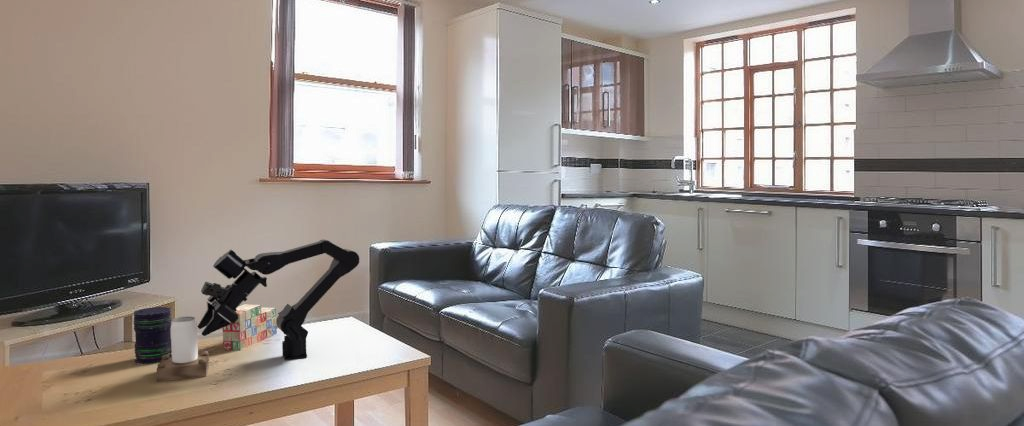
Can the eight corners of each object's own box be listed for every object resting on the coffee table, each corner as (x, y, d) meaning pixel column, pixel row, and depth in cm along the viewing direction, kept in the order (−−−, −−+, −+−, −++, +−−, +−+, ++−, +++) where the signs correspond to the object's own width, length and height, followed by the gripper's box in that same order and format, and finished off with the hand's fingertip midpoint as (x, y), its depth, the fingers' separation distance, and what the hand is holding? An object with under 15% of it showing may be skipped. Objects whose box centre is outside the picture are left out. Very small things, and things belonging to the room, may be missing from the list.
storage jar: (175, 353, 195) (173, 306, 194) (169, 362, 186) (167, 313, 185) (139, 356, 192) (137, 308, 191) (131, 365, 183) (129, 315, 182)
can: (185, 356, 180) (183, 315, 179) (203, 358, 178) (201, 317, 178) (166, 362, 174) (165, 320, 173) (185, 365, 172) (183, 322, 171)
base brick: (209, 365, 183) (208, 350, 183) (206, 376, 174) (205, 360, 173) (162, 370, 178) (162, 355, 178) (157, 381, 169) (156, 365, 169)
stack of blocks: (260, 332, 221) (259, 298, 220) (277, 333, 220) (276, 299, 219) (222, 349, 200) (221, 311, 199) (240, 350, 199) (239, 312, 198)
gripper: (214, 267, 187) (174, 308, 182) (224, 276, 172) (180, 321, 166) (243, 290, 192) (205, 330, 187) (255, 301, 176) (214, 345, 171)
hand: (200, 331), depth 178 cm, fingers open, 9 cm apart
